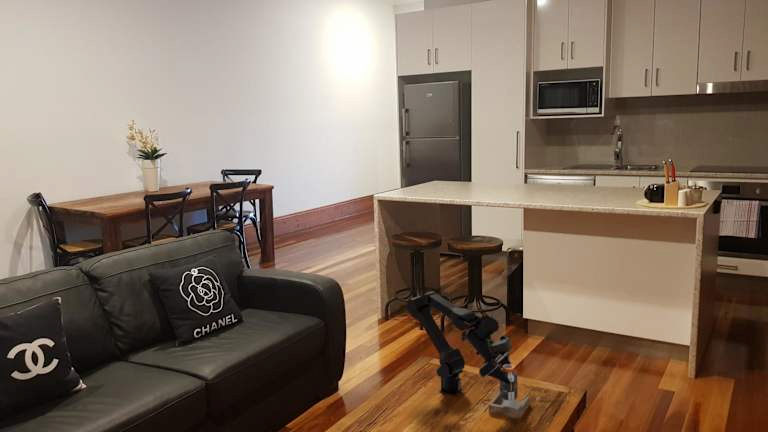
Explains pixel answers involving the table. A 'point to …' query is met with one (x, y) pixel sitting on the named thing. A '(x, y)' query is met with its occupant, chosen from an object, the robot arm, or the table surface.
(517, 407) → the box
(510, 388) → the pill bottle
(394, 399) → the table surface
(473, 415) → the table surface
